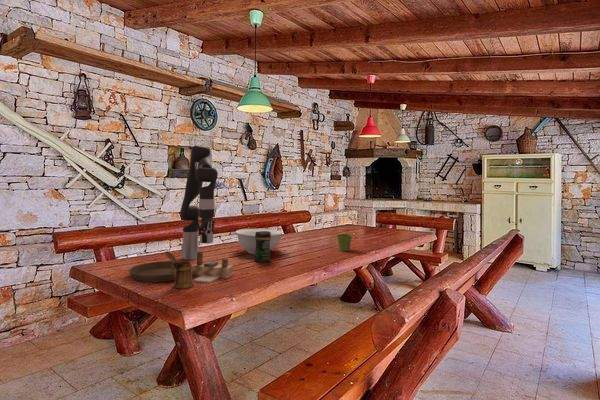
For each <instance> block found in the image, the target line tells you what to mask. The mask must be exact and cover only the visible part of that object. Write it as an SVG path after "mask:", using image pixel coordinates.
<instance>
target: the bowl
mask: <svg viewBox="0 0 600 400" xmlns="http://www.w3.org/2000/svg"><path fill="white" fill-rule="evenodd" d="M260 231H268V232H270V233H271V239H270V251H272V250H273V249H275V248H276V247H277V246H278V245H279V244H280V240H281V239H280V238H281V236H282V235H283V231H282V230H278V229H269V228H242V229H238V230H236V231H235V234H236V235H237V241H238V243H239V246H240V247H242V248H243V249H245V250H246V251H247V253H248V254H250V255H255V249H256V239H255V234H256V232H260Z"/></svg>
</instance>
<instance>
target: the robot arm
mask: <svg viewBox="0 0 600 400" xmlns="http://www.w3.org/2000/svg"><path fill="white" fill-rule="evenodd" d="M212 155H213V154H212V149H211V148H210V147H207V146H206V147H205V146H201V145H193V146H192V147H191V152H190V156H189V157H190V158H189V166H188V167H189V168H188V174H187V178H186V184H185V189H184V196H183V200H182V202H181V203H182V204H181V207H180V214H179V216H180V219H181V220H182V221H186V222H187V221H191V222H190V223H189V224H186V225H184V226H183V227H182V243H181V250H180V251H181V253H180V254H181V258H180V259H182V260H184V261H190V260H191V261H193V260H197V252H198V251H199V236H200V235H202V243H201V244H206V243H207V236H206V235H207V232H212V233H214V231H215V223H216V221H215V220H213V219H214V218H215V186H216V183H217V180H218V177H219V173H218V170H217V168H215V167H213V166H212V157H213V156H212ZM204 183H209V184H208V185H206V186H203V185H204ZM198 196H199V198H198V200H199V201H198V205H190V204H191V203H192V202H193V201H194V200H195V199H196V198H197V197H198ZM199 218H200V221H199Z"/></svg>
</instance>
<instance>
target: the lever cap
mask: <svg viewBox="0 0 600 400" xmlns="http://www.w3.org/2000/svg"><path fill="white" fill-rule="evenodd" d="M206 236H207V243H205V244H212V243H214V232H207V235H206ZM199 243H200V244H203V243H202V235H200V234H199Z"/></svg>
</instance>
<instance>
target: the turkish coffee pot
mask: <svg viewBox="0 0 600 400" xmlns="http://www.w3.org/2000/svg"><path fill="white" fill-rule="evenodd" d="M165 255H166V257H167V259H169V261H172V262H173V263H172V265H171V273H172V275H173V277H174V279H175V280H174V282H173V288H175V289H177V290H179V289H180V290H182V289H190V288H192V287H194V286H195V285H194V280H193V275H192V267H191V265H192V264H191V261H189V260H184V261H180V262H176V261H177V259H176V258H175V256H174V255H173V254H172V253H171V252H169V251H168V250H165ZM175 268H176V273H175V272H174V270H175Z"/></svg>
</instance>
